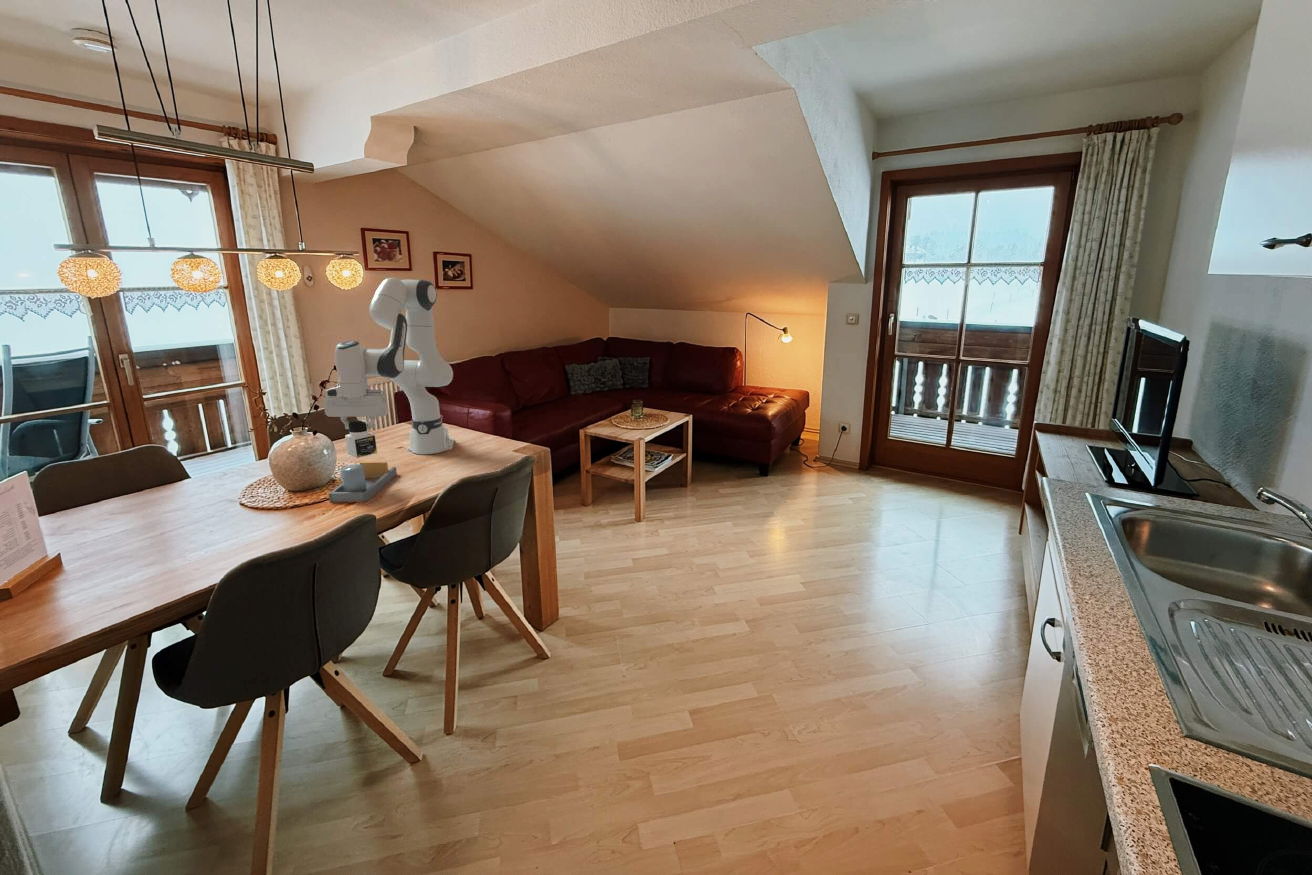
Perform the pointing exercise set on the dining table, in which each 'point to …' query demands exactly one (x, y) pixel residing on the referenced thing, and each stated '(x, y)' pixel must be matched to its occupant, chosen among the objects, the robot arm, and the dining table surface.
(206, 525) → the dining table surface
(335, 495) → the blue-grey tray
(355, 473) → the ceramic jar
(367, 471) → the block
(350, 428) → the medicine bottle
